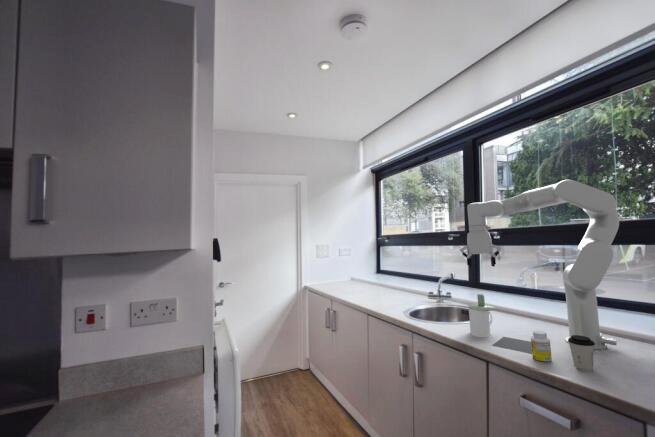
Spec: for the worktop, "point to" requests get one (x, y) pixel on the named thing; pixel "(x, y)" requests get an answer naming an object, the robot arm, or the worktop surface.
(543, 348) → the supplement bottle
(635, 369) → the worktop surface
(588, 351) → the coffee cup
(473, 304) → the lid
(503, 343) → the mat
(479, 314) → the mug
